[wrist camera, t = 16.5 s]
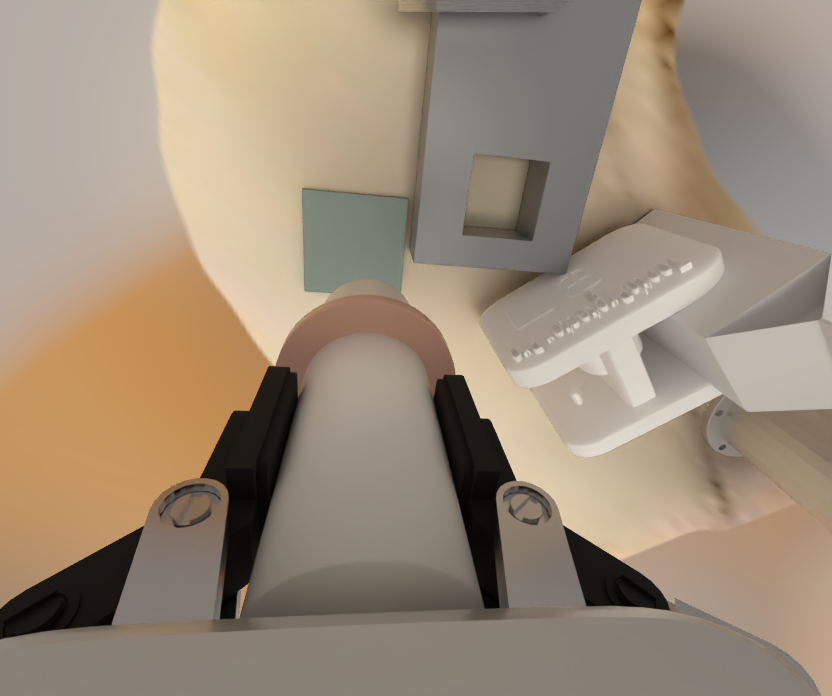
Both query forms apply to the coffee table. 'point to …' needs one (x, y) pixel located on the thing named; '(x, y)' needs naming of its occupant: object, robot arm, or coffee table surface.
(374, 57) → the coffee table surface
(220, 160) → the coffee table surface
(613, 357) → the cable organizer
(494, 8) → the clip
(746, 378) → the milk carton
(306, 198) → the mat
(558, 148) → the grey block with hole
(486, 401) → the coffee table surface
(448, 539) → the plug
